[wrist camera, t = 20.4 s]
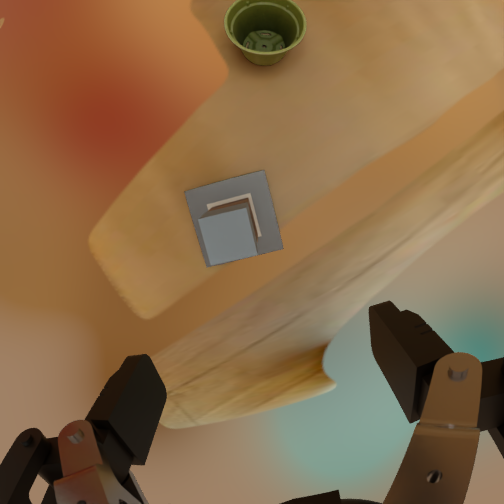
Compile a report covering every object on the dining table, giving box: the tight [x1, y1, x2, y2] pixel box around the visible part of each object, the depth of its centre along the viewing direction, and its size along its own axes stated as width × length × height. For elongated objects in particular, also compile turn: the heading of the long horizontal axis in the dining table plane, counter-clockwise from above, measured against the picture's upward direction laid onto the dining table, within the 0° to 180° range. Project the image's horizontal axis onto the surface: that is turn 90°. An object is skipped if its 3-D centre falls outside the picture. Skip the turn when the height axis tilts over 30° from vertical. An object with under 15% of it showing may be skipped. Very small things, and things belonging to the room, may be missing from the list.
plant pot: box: [224, 0, 307, 65], centre depth 30 cm, size 9×9×9 cm
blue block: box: [198, 202, 258, 265], centre depth 33 cm, size 5×5×5 cm
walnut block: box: [207, 198, 258, 242], centre depth 37 cm, size 5×5×5 cm
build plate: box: [185, 170, 283, 267], centre depth 40 cm, size 11×11×1 cm
